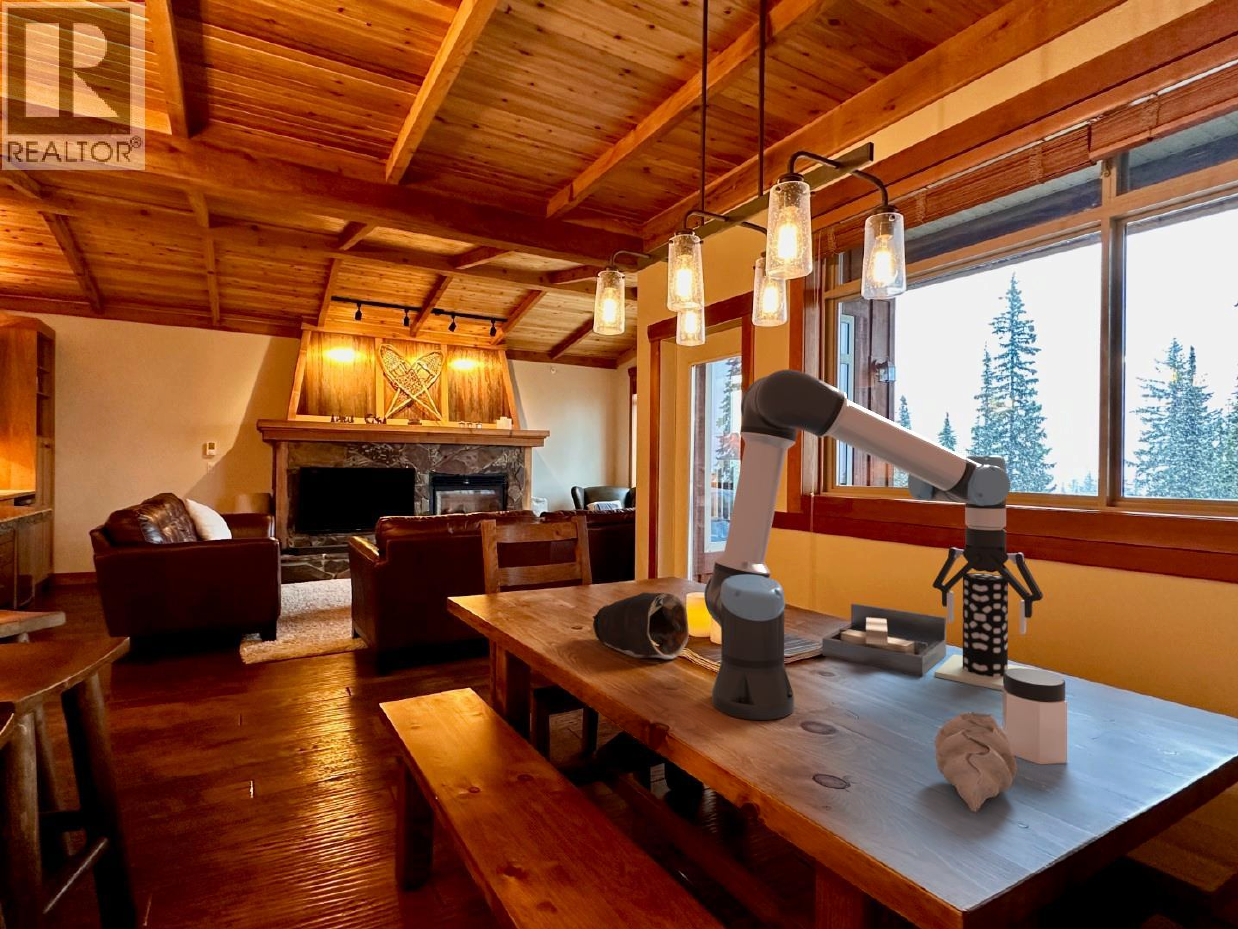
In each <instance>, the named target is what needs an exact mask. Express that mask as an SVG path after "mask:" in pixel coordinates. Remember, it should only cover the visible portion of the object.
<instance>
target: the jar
mask: <svg viewBox="0 0 1238 929" xmlns="http://www.w3.org/2000/svg"><path fill="white" fill-rule="evenodd" d="M1034 669H1035V668H1033V669H1025V668H1012V669H1007V670H1005V671H1004V676H1003V684H1004V685H1003V691H1002V730H1003V731H1004V732H1005V733H1006V736H1007V739H1008V741H1009V743H1010V747H1011V751H1012V753H1013V755H1014V757H1016V758H1019V759H1022V760H1024V761H1027V762H1031V763H1032V764H1033V763H1034V764H1036V765H1052V764H1053V765H1055V764H1067V763H1068V702H1067V700H1066V680H1065V679H1064V678H1062V677H1061V676H1058V675H1056V674H1054V673H1052V672H1048V671H1044V670H1040V669H1039V670H1038V669H1036V670H1034Z"/></svg>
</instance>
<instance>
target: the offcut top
mask: <svg viewBox="0 0 1238 929" xmlns="http://www.w3.org/2000/svg"><path fill="white" fill-rule="evenodd" d="M866 643H868V644H878V645H888V631H887V621H886V619H881V618H868V617H866Z"/></svg>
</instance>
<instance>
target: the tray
mask: <svg viewBox="0 0 1238 929" xmlns="http://www.w3.org/2000/svg"><path fill="white" fill-rule="evenodd" d="M866 617H868V618H881V619H886V621H887V631H888V637H891V638H896V639H901V640H906V641H911V642H914V654H910V653H905V652H899V651H894V650H889V649H883V648H878V647H873V646H867V645H862V644H857V643H852V642H846V641H841V633H842V632H844V631H847V630H849V629H850V630H856V631H861V632H866ZM821 641H822V646H821V647H822V648H821V649H822V654H821V655H822V656H825V657H828V658H833V659H839V660H842V661H846V662H847V661H848V662H853V663H857V664H863V665H866V666H872V667H876V668H881V669H882V668H883V669H884V670H885V669H886V670H890V671H896V672H901V673H905V674H908V675H909V674H910V675H914V676H921V677H924V675H926V674H927V673H928V672H929V671H930V670H931V669H932V668H934V667H935V666H936V665H937V664H938V663H940V661H942V659H943V658H944V657H946V656H947V616H941V615H934V614H930V613H929V614H928V613H922V612H916V611H915V612H914V611H907V610H900V609H896V608H895V609H894V608H888V607H880V606H874V605H867V604H861V603H854V602H852V603H850V624H848V625H846V626H843V627H840V628H839V629H838V630H836V631H834V632H832V633H830V634H828V635H827V636H825V637H823V638H822V640H821Z"/></svg>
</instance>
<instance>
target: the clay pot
mask: <svg viewBox="0 0 1238 929" xmlns="http://www.w3.org/2000/svg"><path fill="white" fill-rule="evenodd" d="M591 617H592V619H593V622H592V627H593V631H594V635H595V638H597V640H598V641H600V642H601V643H603V644H604V645H605V646H606V647H607V646H608V647H610V648H612V649H614V650H616V651H617V652H621V653H623V654H625V655H626V656H627V655H628V656H630V657H633V658H636V659H637V658H638V659H640V658H642V659H643V658H659V659H663V660H673V659H676V658H678V656H679V654H681V652H682V651H683V650H684V648H686V645H687V643H688V642H689V635H690V633H689V631H690V630H689V621H688V612H687V608H686V606H685V605H684V603H683V601H682V600H681V599H680V598H679V597H678V596H676V595H675V594H673V593H671V592H670V593H669V592H657V593H655V592H653V593H652V592H641V593H640V594H637V595H633V596H628V597H626V598H624V599H620V600H617V601H614V602H613V603H611V604H609V605H604V606H603V607H601V608H600V609H599V610H598V611H597V613H596V614H595V615H593V616H591ZM654 643H655V644H656V645H657V646H658V648H657V647H656V645H654Z"/></svg>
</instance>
